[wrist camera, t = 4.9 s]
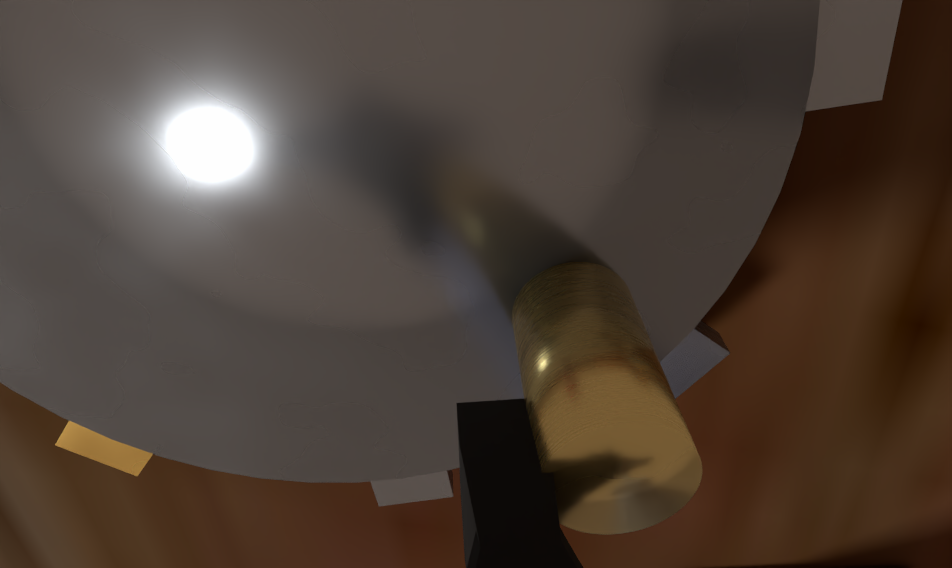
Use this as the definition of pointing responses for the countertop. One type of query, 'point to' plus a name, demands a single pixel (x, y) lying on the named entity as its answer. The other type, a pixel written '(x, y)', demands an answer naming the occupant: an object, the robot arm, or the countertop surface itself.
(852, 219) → the countertop surface
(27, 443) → the countertop surface
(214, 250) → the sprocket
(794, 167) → the countertop surface
